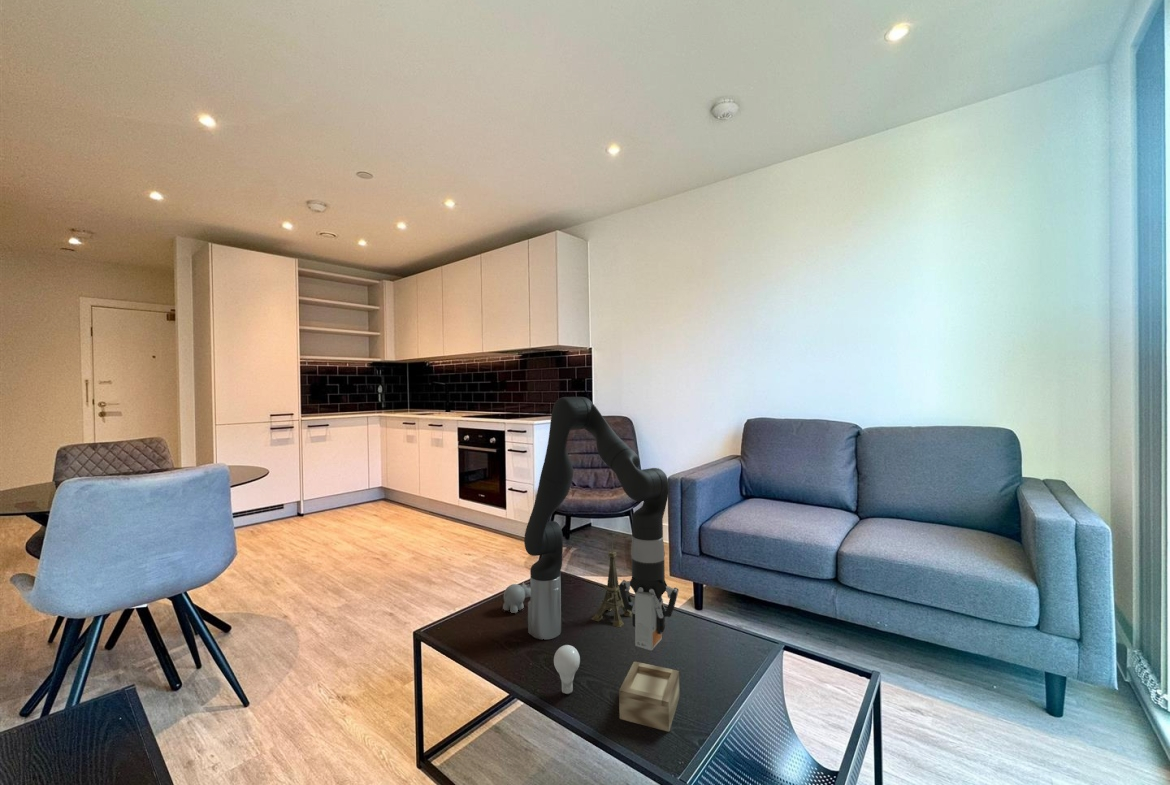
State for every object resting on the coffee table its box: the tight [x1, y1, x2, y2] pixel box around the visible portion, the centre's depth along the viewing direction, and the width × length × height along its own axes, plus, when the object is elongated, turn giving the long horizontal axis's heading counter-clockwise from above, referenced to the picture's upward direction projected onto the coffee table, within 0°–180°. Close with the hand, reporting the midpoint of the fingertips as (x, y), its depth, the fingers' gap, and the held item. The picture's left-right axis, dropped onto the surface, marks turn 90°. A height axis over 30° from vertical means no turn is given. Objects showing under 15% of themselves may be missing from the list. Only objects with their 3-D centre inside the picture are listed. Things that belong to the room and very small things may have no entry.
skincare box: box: [634, 592, 663, 651], centre depth 104 cm, size 6×4×12 cm
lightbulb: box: [553, 644, 581, 695], centre depth 109 cm, size 6×6×11 cm
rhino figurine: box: [502, 581, 531, 614], centre depth 155 cm, size 7×12×8 cm, turn 140°
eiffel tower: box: [590, 540, 632, 628], centre depth 148 cm, size 11×11×25 cm
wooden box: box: [618, 661, 680, 733], centre depth 103 cm, size 11×12×6 cm
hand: (648, 630), depth 104 cm, fingers closed on skincare box, 4 cm apart
